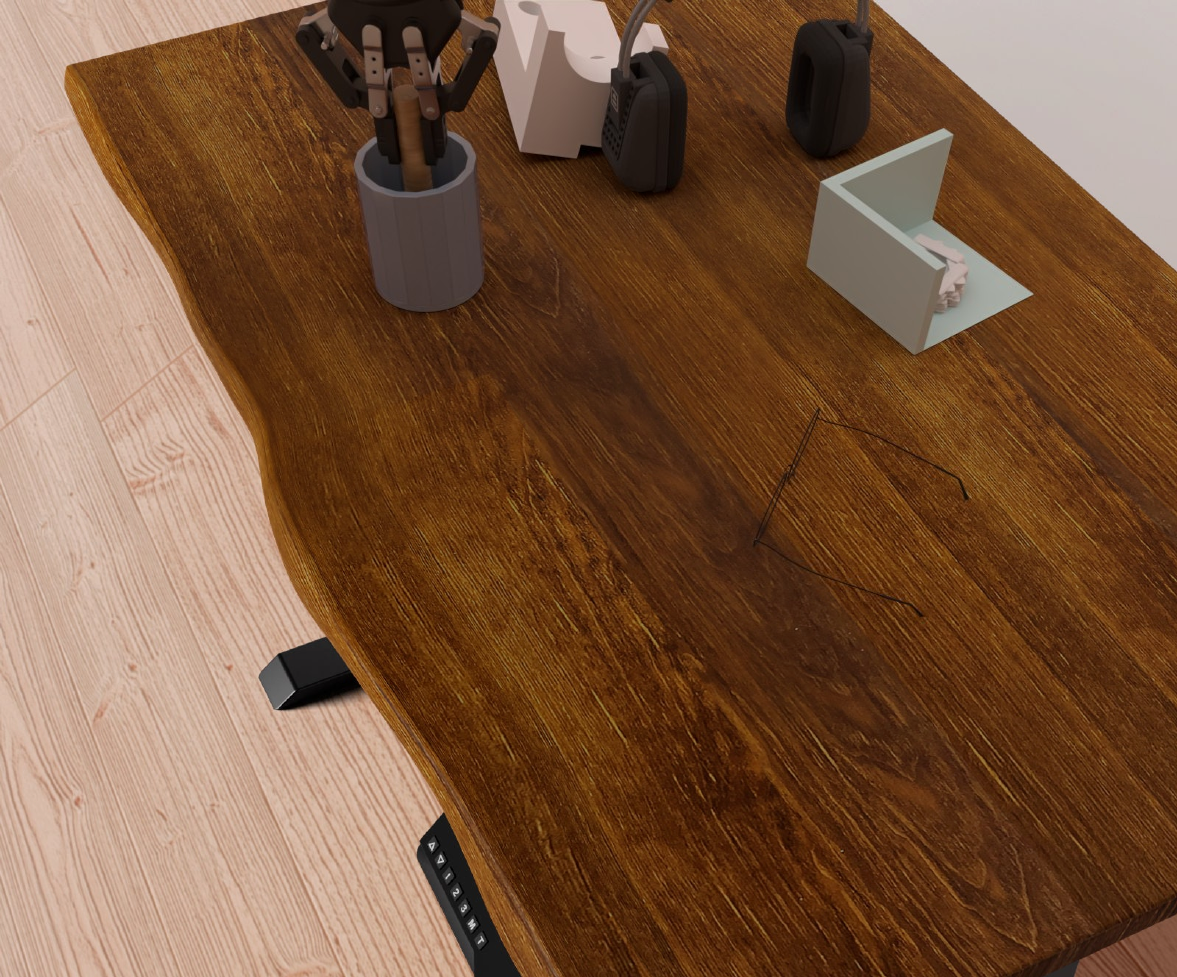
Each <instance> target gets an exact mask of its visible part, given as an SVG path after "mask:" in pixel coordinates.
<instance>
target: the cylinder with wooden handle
mask: <svg viewBox="0 0 1177 977" xmlns="http://www.w3.org/2000/svg"><path fill="white" fill-rule="evenodd" d="M392 100H393V108H394V114H395V121H396V129H397V136H398V143H399V151H400V158H401V166H402V173H403V180H404V188H405V192H421V191H426V190H431V189H433V184H432V175H431V167H430V166H426V163H425V155H424V146H423V138H422V130H421V121H420V120H421V116H422V111H421V106H420V101H419V97H418V92H417V90H416V89H415V87H414V84H401V85H398V86H397V87H395V88H393V91H392Z"/></svg>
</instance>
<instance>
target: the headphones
mask: <svg viewBox="0 0 1177 977" xmlns="http://www.w3.org/2000/svg"><path fill="white" fill-rule="evenodd" d="M664 1H665V2H666V3H668V4H670V3H672V2H673V1H674V0H664ZM658 2H659V0H639V1H638V2H637V4H636V5H635V7H634V9H633V10H632V12H631V14H630V16H629V18H628V20H627V22H626V25H625V26H624V30H623V34H622V36H621V40H620V42H621V45H620V51H619V62H618V66H617V68H611V90H610V95H609V99H608V104H607V109H606V114H605V119H604V124H603V129H602V135H601V146H602V147H601V150H602V153H603V155H604V157H605V159H606V160H607V162H608V164H609V165H610V167H611V169H612V171H613V172H614V174H615V176H616V177H617V178H618V180H619V181H620V182H621V184H623V185H624V186H625V187H626V188H627V189H629V190H630V191H633V192H637V193H639V192H641V193H645V192H649V191H651V192H653V193H660V192H664V191H665V190H666V189H670V188H671V189H672V188H674V187H676V186H677V185H678V184H679V183H680V181H681V179H682V177H683V174H684V167H685V154H686V153H685V152H686V141H687V139H686V138H687V125H688V106H689V105H688V104H689V98H688V97H689V96H688V94H689V93H688V88H687V84H686V82H685V80H684V78H683V77H682V75H681V73H680V72H679V70H678V69H677V67H676V66H675V64H674V63H673V62H672V60H671V58H669V57H668V55H667V56H666V55H665V54H664V53H662V52H660V51H658V50H653V51H650V52H648V53H646V52H640V53H636V54H634V55H633V56H631V52H632V48H633V44H634V41H635V38H636V37H637V35H638V33H639V32H640V30H641V27H642V25H643V22H644V21H645V19H646V18H647V16H648V15H649V14H650V12H651V10H652V9H653V8H654V6H655V5H656V4H657V3H658ZM855 15H856V16H855V21H854V22H851V20H850V19H838V18H837V19H836V18H830V19H829V18H826V17H825V18H818V19H817V20H815V21H807V22H805V23H803V24H801V25H800V27H798V29H797V32H796V34H795V38H794V42H793V49H792V54H791V62H790V68H789V74H788V75H789V76H788V82H787V91H786V101H785V110H784V111H785V112H784V117H785V122H786V123H785V124H786V127H787V128H788V130H789V131H790V132H791V134H792V135H793V137H794V139H795V140H796V141H797V142H798V143H799V145H800V146H801V147H802V148H803V150H804V151H805V152H806V153H807V154H808V155H811V156H812V157H815V158H819V157H822V156H826V157H833V156H837V155H838V154H839V153H840V152H841V151H847V150H849V149H851V148H853V147H855V146H856V145H857V144H858V143H860V141H861V140H862V139H863V138H864V136H865V134H866V132H867V130H868V128H869V126H870V122H871V115H872V112H871V110H872V109H871V108H872V107H871V106H872V104H871V102H872V100H871V99H872V98H871V96H872V94H871V93H872V92H871V90H872V89H871V88H872V87H871V83H872V82H871V63H870V59H871V53H872V48H873V44H874V37H875V33H874V31H873V30H872V29H871V28H870V27H869V19H870V0H856V14H855Z"/></svg>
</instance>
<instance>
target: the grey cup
mask: <svg viewBox="0 0 1177 977" xmlns="http://www.w3.org/2000/svg"><path fill="white" fill-rule="evenodd" d="M447 134H448V143H447V147H446V152H445V155H444V157H443V158H439V159H438V163H437V166H430V167H431V175H432V184H433V189H431V190H426V191H421V192H405V188H404V180H403V173H402V166H401V163H400V165H392V164H389V162H388V156H382V155H381V153H380V152H379V150H378V145H377V138H376V136H374V137H372V138H370V139H369V140H368V141H367V142H366V143H365V144H364V145H363V146H362V147H360V149H359V150H357V153H356V155H355V160H354V162H353V171H354V177H355V183H356V189H357V196H358V200H359V207H360V212H361V218H362V224H363V231H364V236H365V242H366V248H367V253H368V254H367V255H368V260H369V266H370V271H371V275H372V278H373V283H374V287H375V290H376V291H377V293H378V294H379V296H380V297H381V298H382V299H383V300H384V301H386V303H389V304H391V305H392V306H394V307H397V308H399V309H402V310H406V311H409V312H419V313H433V312H439V311H440V312H441V311H445V310H449V309H452V308H455V307H458V306H460V305H462V304H464V303H465V302H467V301H469V300H470V299H471V298H472V297H474V296H475V295H476V294H477V293H478V292H479V290H480V289H481V288H482V285H483V284H484V281H485V276H486V270H485V269H486V259H485V247H484V235H483V234H484V232H483V222H482V210H481V209H482V208H481V199H480V198H481V197H480V186H479V173H478V163H477V162H478V161H477V160H478V159H477V155H476V152H475V150H474V149H473V145H472V144H471V142H470V141H468V140H466V139H465V138H463V137H462V136H461V135H459V134H458V133H457V132H454V131H451V130H447Z"/></svg>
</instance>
